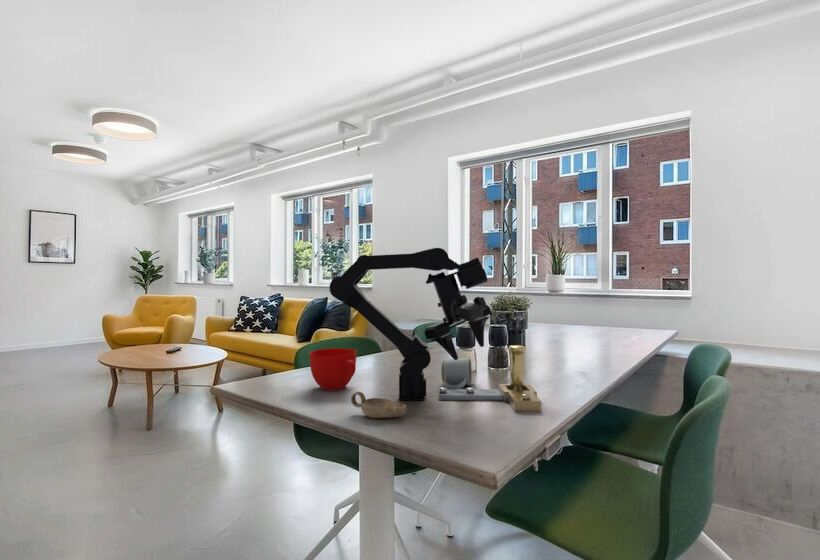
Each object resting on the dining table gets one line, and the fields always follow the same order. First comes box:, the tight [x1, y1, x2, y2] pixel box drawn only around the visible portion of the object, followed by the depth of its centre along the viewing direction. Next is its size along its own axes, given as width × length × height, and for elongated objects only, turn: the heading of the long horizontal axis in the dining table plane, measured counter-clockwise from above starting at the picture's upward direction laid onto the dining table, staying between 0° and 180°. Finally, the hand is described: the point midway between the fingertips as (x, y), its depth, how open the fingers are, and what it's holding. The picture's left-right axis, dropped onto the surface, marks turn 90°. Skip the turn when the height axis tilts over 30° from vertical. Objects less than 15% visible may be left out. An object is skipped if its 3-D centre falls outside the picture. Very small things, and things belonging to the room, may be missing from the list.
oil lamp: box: [350, 391, 407, 419], centre depth 97 cm, size 13×8×5 cm, turn 66°
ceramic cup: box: [309, 347, 357, 391], centre depth 120 cm, size 13×17×10 cm
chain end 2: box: [498, 383, 542, 413], centre depth 107 cm, size 8×16×3 cm, turn 177°
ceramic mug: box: [440, 357, 473, 389], centre depth 123 cm, size 11×8×8 cm
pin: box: [508, 344, 526, 391], centre depth 111 cm, size 4×4×13 cm
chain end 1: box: [438, 386, 526, 403], centre depth 111 cm, size 24×8×2 cm, turn 87°
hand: (469, 353), depth 111 cm, fingers open, 9 cm apart
